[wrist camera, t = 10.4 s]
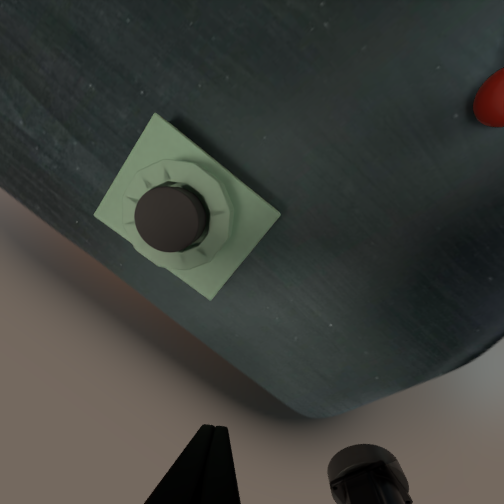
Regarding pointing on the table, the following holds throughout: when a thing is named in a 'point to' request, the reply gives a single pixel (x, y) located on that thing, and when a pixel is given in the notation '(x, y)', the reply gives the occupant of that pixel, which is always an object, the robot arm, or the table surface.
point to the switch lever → (491, 101)
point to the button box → (210, 194)
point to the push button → (169, 218)
